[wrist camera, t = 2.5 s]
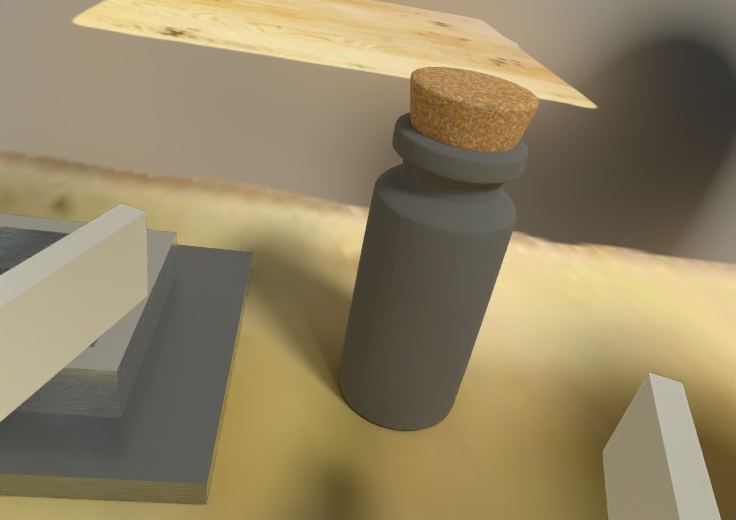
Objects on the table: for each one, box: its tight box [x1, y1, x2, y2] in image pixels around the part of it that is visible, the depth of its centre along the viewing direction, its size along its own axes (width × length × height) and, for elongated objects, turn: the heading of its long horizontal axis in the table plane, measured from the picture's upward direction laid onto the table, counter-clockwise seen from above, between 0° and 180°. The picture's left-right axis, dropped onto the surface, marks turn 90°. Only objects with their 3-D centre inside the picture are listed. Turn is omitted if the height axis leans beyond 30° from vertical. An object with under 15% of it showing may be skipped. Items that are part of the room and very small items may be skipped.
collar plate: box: [0, 213, 253, 504], centre depth 26 cm, size 18×16×4 cm
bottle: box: [339, 67, 539, 431], centre depth 25 cm, size 6×6×15 cm
